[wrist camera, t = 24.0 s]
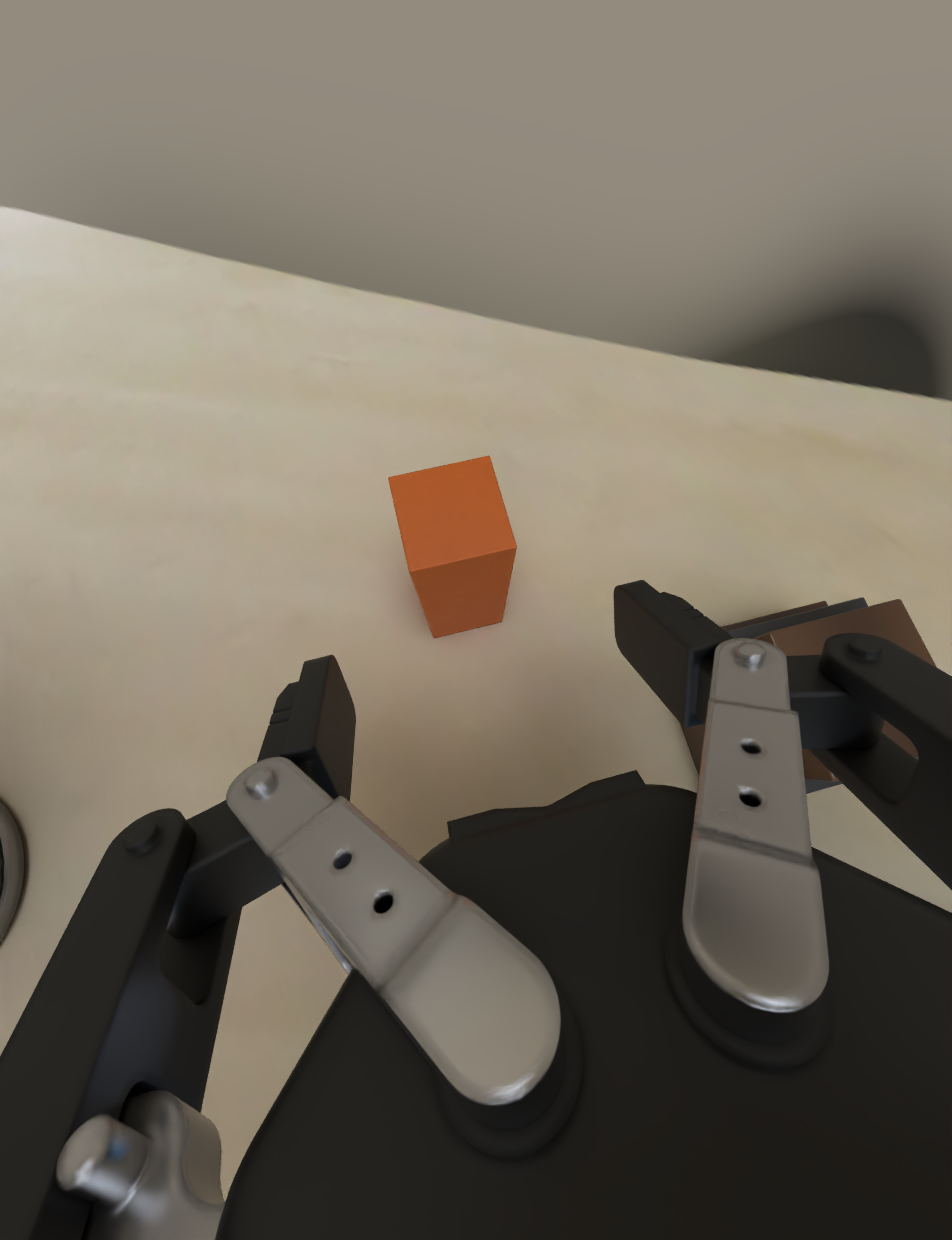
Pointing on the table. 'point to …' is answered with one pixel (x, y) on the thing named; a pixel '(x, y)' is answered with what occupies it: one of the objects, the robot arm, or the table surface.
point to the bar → (456, 543)
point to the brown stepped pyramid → (806, 637)
